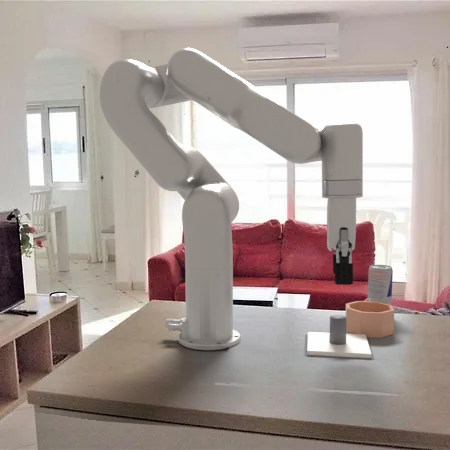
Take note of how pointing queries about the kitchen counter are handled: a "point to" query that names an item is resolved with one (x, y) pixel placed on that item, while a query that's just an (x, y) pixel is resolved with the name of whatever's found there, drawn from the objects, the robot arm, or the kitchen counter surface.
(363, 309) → the bowl
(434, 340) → the kitchen counter surface
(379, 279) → the energy drink
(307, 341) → the mat
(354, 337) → the lid
